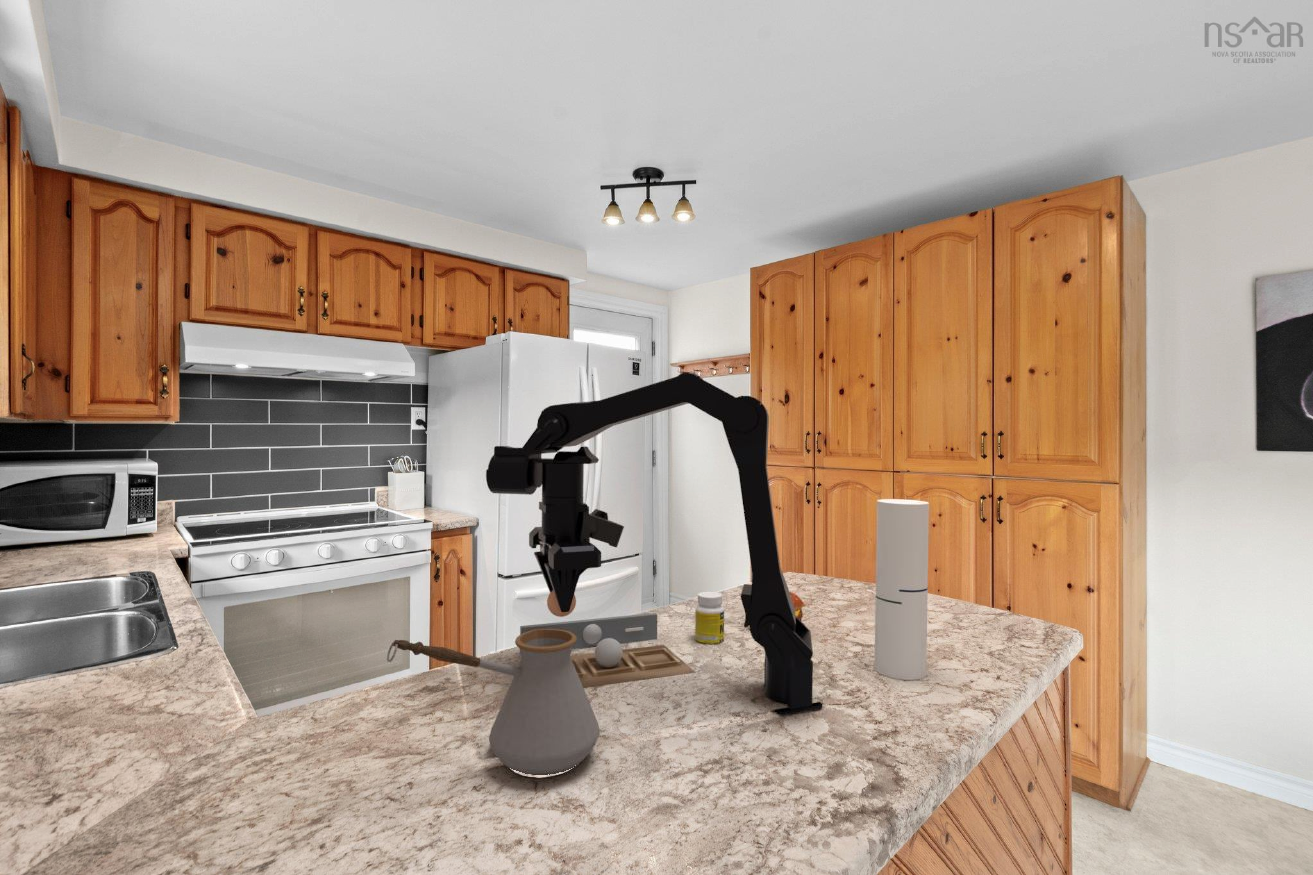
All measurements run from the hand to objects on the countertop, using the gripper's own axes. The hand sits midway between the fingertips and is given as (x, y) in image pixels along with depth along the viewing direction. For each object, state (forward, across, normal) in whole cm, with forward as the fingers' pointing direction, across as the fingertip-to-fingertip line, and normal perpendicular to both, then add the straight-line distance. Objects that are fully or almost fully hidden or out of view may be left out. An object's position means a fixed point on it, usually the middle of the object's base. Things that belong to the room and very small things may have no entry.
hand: (561, 607), depth 87 cm
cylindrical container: (+10, -13, -48) cm, 51 cm away
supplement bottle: (+10, +6, -26) cm, 29 cm away
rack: (+10, 0, -7) cm, 12 cm away
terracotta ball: (+1, 0, 0) cm, 1 cm away
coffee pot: (+10, -21, +11) cm, 26 cm away
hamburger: (+10, +11, -42) cm, 45 cm away
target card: (+10, +10, -7) cm, 15 cm away
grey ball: (+9, 0, -7) cm, 11 cm away
